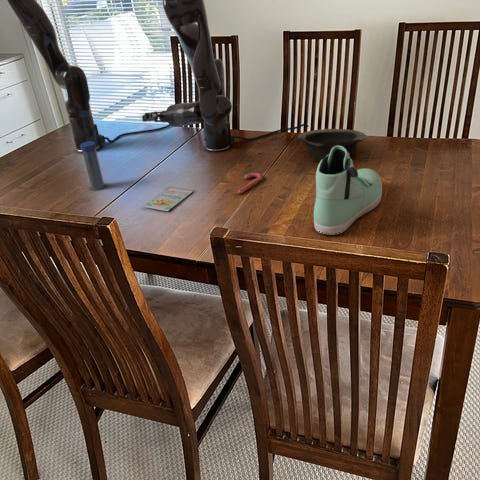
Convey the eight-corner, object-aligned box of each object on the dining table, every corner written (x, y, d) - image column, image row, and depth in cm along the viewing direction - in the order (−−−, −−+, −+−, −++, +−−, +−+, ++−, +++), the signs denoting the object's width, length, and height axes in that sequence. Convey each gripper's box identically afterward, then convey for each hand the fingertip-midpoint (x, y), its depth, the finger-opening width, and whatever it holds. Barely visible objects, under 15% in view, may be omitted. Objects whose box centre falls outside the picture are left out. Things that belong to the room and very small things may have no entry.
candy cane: (225, 192, 154) (224, 187, 153) (251, 174, 164) (250, 170, 163) (240, 195, 151) (240, 191, 150) (265, 177, 161) (265, 173, 160)
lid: (78, 149, 157) (77, 144, 157) (91, 145, 160) (90, 140, 159) (85, 152, 154) (84, 147, 153) (98, 148, 157) (97, 143, 156)
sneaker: (389, 187, 148) (396, 123, 138) (356, 242, 123) (361, 168, 112) (346, 181, 154) (350, 119, 144) (306, 232, 129) (307, 161, 118)
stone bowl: (324, 173, 160) (323, 146, 156) (284, 156, 180) (283, 132, 176) (382, 155, 169) (382, 129, 165) (338, 140, 189) (337, 117, 185)
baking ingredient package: (143, 206, 148) (170, 186, 159) (143, 207, 148) (170, 188, 159) (167, 210, 144) (192, 190, 156) (167, 211, 144) (193, 191, 156)
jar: (89, 187, 165) (78, 145, 157) (100, 183, 167) (90, 141, 159) (95, 191, 162) (85, 148, 154) (106, 186, 164) (97, 144, 156)
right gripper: (197, 105, 168) (167, 109, 179) (165, 101, 157) (135, 107, 168) (198, 126, 169) (168, 130, 180) (166, 125, 159) (137, 128, 169)
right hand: (152, 119), depth 174 cm, fingers open, 8 cm apart
